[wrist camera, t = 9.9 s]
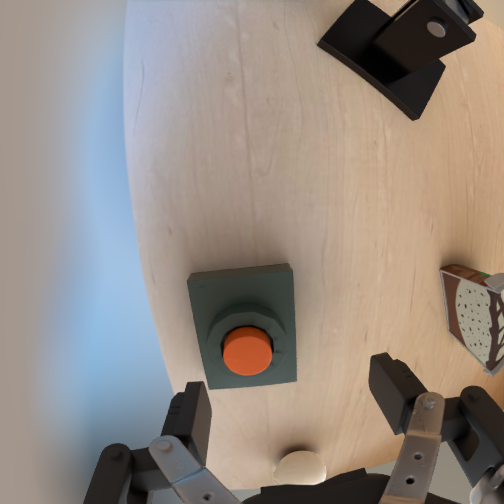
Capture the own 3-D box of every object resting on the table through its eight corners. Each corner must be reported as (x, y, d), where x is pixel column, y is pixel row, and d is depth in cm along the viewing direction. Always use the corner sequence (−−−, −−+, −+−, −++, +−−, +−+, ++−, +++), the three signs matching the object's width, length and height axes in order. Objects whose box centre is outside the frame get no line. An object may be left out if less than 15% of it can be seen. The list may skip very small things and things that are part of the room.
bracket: (316, 45, 22) (365, -31, 9) (355, 0, 20) (406, -66, 8) (412, 121, 24) (502, 99, 11) (440, 69, 22) (516, 37, 10)
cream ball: (262, 455, 33) (265, 492, 27) (309, 436, 32) (318, 473, 26) (284, 472, 35) (289, 506, 28) (327, 455, 34) (337, 489, 27)
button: (220, 328, 24) (219, 338, 22) (268, 323, 24) (270, 333, 22) (227, 366, 25) (226, 377, 23) (271, 361, 25) (273, 373, 23)
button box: (190, 273, 26) (182, 288, 22) (288, 263, 27) (296, 276, 23) (210, 377, 29) (207, 401, 25) (293, 369, 29) (300, 392, 25)
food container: (479, 316, 30) (525, 349, 20) (448, 340, 30) (493, 380, 20) (472, 235, 27) (532, 256, 17) (437, 258, 27) (498, 287, 17)
